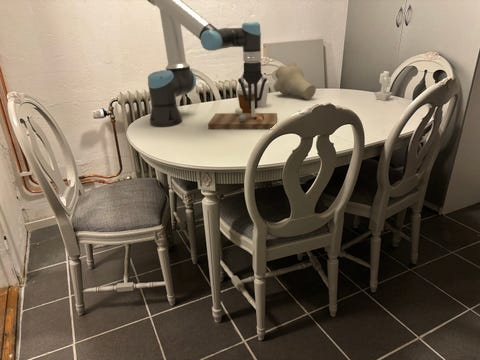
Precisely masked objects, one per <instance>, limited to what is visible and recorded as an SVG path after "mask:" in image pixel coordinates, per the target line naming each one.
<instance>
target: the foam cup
mask: <svg viewBox="0 0 480 360" xmlns="http://www.w3.org/2000/svg"><path fill="white" fill-rule="evenodd" d="M261 80H262V79H260V80H259V82H258V83H257V98H258V97H259V94H260V89H261V85H262V81H261ZM269 86H270V82H269V81H268V80H267V81H266V83H265V85H264V89H263V94H262V98H261V100H259V101H258V102H257V103H258V107H257V109H258V108H259V109H260V108H261V109H263V108H266V107H267V101H268V93H269ZM252 88H254V84H252Z"/></svg>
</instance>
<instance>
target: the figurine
mask: <svg viewBox="0 0 480 360" xmlns="http://www.w3.org/2000/svg"><path fill="white" fill-rule="evenodd" d="M389 75H390V71H386V70H385V71H383V72H382V73H380V75H379V84H380V85H381V89H380V90H379V91H377V92H374V93H373V94H374V97H375V98H376V100H378V101H387V100H389V99H390V97H391V96H392V95H393V93H394V92H393V91H392V92H391V91H388V90H387V89H388V88H390V87H391V81H392V80H391V77H390V76H389Z"/></svg>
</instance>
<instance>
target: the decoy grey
mask: <svg viewBox="0 0 480 360" xmlns="http://www.w3.org/2000/svg"><path fill="white" fill-rule="evenodd" d="M238 120H239V121H240V122H244V121H245V120H246V117H245V115H243V114H241V115H239V117H238Z"/></svg>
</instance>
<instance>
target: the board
mask: <svg viewBox="0 0 480 360" xmlns="http://www.w3.org/2000/svg"><path fill="white" fill-rule="evenodd" d="M242 114H243V115H245V117H246V120H245V121H244V122H240V121H239V120H238V117H239V115H237V114H236V113H235V112H233V113H232V112H229V113H228V112H227V113H226V112H224V113H222V112H220V113H218V112H217V113H214V115H212V117H211V118H210V120H209V121H208V123H207V128H208V129H207V130H271V129H270V128H272V127H273V126H274V125H275V124H276V125H277V121H278V113H277V112H263V113H262V112H255V117H252V115H251V113H242ZM259 116H260V117H262V118H263V120H256V118H257V117H259Z"/></svg>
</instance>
